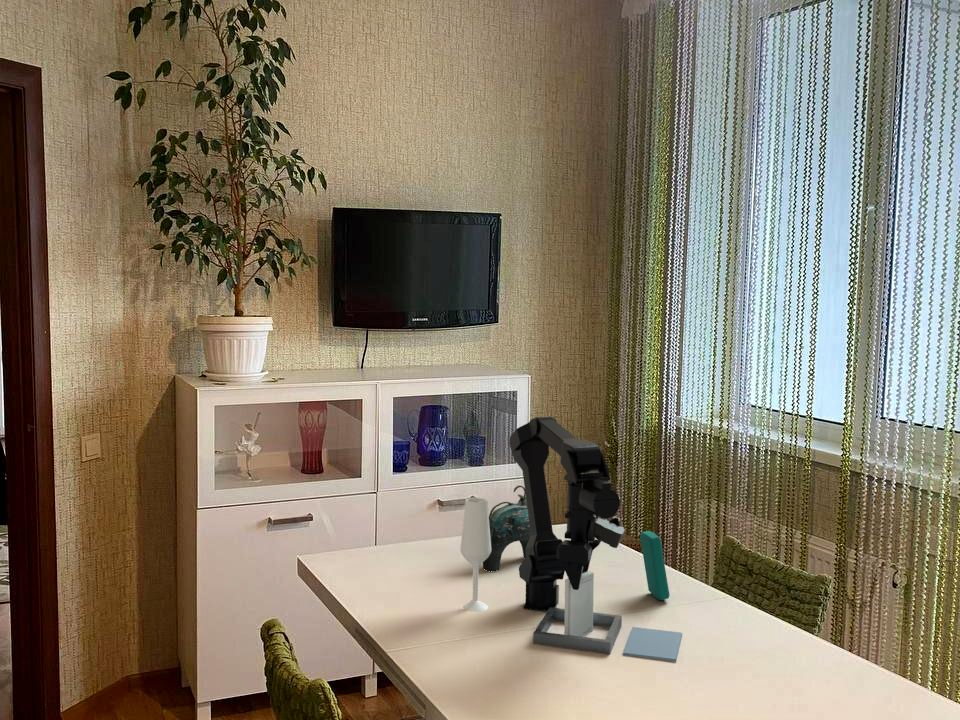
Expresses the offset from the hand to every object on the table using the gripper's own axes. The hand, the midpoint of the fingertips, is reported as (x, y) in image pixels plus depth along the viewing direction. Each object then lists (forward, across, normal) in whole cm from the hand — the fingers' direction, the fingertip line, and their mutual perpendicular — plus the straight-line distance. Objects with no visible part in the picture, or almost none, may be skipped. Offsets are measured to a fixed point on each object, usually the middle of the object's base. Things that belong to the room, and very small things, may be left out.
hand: (579, 582), depth 190 cm
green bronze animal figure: (+11, +41, +24) cm, 49 cm away
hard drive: (+11, 0, 0) cm, 11 cm away
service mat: (+11, 0, -15) cm, 19 cm away
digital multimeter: (+11, +28, -12) cm, 33 cm away
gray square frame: (+11, 0, 0) cm, 11 cm away
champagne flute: (+11, +9, +24) cm, 28 cm away
